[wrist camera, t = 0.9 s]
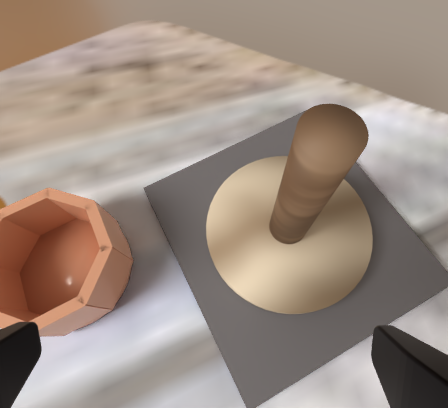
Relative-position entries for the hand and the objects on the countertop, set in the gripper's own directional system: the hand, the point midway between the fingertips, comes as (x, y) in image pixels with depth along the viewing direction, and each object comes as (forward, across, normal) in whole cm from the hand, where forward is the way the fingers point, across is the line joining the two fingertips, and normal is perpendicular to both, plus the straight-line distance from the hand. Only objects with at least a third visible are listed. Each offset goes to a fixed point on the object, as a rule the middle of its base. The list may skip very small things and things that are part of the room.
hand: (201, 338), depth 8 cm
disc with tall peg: (+14, -4, +2) cm, 15 cm away
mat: (+15, -4, +2) cm, 15 cm away
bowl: (+13, +11, +4) cm, 18 cm away
